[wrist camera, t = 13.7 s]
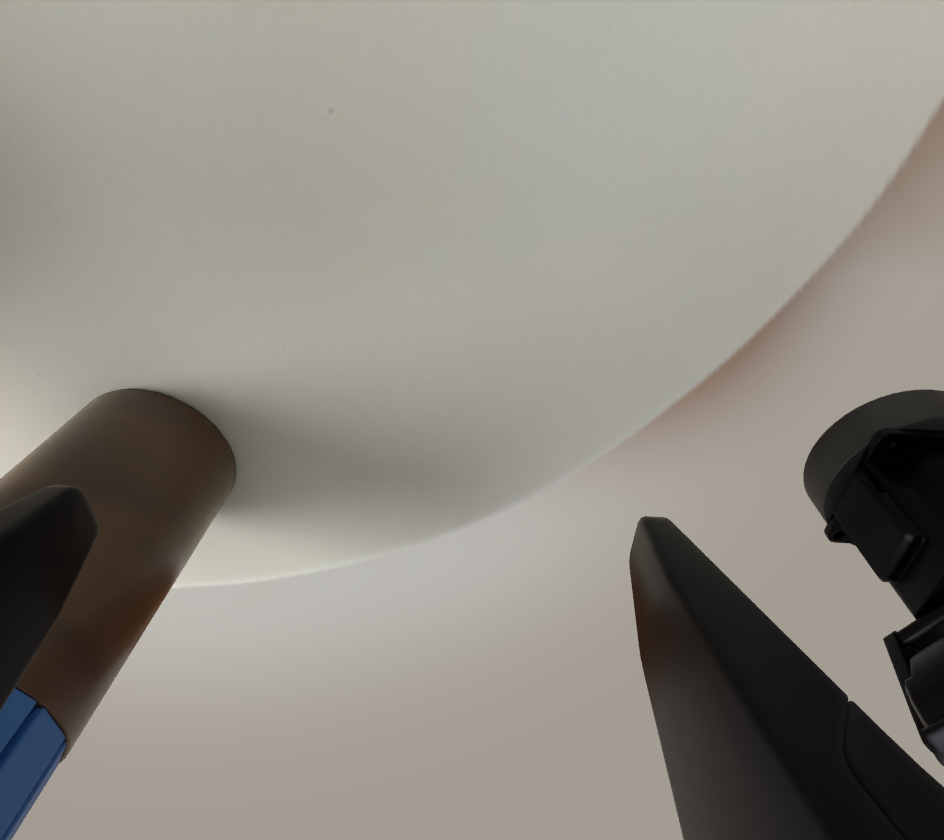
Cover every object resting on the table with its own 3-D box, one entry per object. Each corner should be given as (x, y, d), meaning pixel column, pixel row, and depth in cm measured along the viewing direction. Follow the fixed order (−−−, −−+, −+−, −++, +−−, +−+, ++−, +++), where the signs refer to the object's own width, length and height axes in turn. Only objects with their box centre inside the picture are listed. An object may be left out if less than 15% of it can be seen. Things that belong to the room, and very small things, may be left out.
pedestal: (217, 392, 22) (5, 646, 13) (249, 515, 26) (103, 783, 16) (53, 384, 22) (-275, 629, 13) (109, 508, 26) (-116, 769, 17)
